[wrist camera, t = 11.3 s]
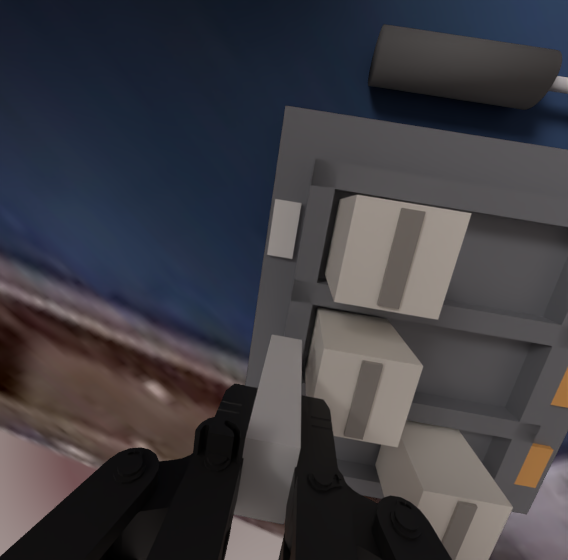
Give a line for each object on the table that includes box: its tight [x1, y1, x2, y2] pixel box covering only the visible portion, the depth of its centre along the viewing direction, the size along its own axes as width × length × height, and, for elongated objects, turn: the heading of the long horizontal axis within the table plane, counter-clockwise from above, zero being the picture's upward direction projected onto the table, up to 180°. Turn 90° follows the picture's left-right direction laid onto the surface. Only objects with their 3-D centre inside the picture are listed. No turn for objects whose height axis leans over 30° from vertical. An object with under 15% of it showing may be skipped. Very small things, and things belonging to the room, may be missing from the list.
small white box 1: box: [325, 195, 472, 320], centre depth 13 cm, size 4×4×5 cm
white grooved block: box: [305, 307, 423, 448], centre depth 14 cm, size 4×4×5 cm
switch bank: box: [245, 106, 568, 514], centre depth 17 cm, size 20×22×3 cm
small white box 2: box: [375, 420, 513, 560], centre depth 16 cm, size 4×4×5 cm
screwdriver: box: [368, 24, 568, 110], centre depth 14 cm, size 17×2×2 cm, turn 81°
